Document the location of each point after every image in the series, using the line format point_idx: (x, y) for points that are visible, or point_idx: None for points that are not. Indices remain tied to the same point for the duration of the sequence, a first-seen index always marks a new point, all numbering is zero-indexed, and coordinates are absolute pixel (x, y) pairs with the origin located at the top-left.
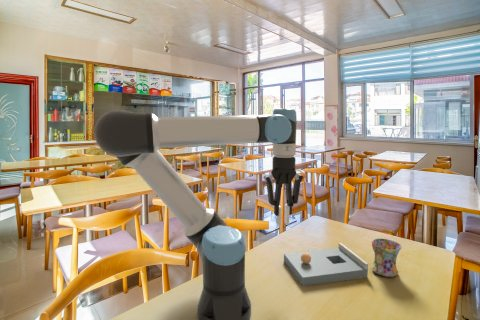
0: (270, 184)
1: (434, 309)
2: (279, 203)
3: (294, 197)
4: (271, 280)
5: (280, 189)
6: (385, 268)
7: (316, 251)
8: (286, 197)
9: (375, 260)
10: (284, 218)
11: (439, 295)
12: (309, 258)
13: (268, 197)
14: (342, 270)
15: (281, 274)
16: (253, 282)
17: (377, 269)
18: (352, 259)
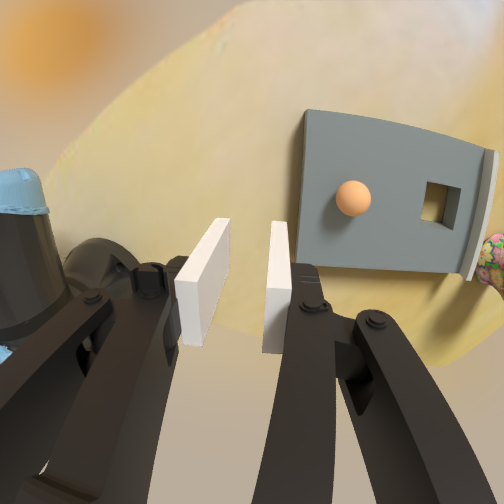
0: (6, 491)
1: (448, 357)
2: (174, 364)
3: (353, 408)
4: (223, 206)
5: (134, 496)
6: (488, 282)
7: (422, 137)
8: (282, 355)
9: (495, 263)
10: (271, 233)
11: (484, 333)
12: (358, 215)
13: (49, 335)
14: (415, 263)
15: (263, 184)
16: (173, 203)
17: (481, 267)
18: (472, 222)
